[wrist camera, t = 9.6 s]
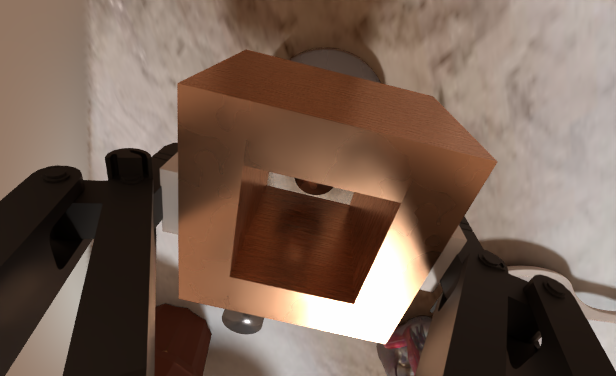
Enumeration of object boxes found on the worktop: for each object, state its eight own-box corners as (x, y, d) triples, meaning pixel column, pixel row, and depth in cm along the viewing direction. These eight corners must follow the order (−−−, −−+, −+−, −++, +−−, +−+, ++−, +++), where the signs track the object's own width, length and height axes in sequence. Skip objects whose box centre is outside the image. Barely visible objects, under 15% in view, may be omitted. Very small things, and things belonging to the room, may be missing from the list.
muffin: (235, 321, 38) (204, 415, 29) (205, 362, 43) (172, 451, 34) (141, 282, 35) (77, 371, 27) (122, 330, 41) (65, 417, 32)
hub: (351, 181, 26) (357, 269, 18) (251, 140, 25) (204, 212, 16) (409, 80, 21) (455, 132, 13) (290, 24, 20) (253, 40, 12)
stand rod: (276, 256, 31) (255, 338, 24) (248, 245, 31) (217, 326, 23) (286, 235, 30) (267, 316, 22) (257, 224, 29) (227, 303, 22)
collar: (371, 238, 19) (385, 344, 13) (229, 205, 19) (178, 298, 13) (433, 96, 15) (497, 161, 9) (246, 49, 14) (177, 83, 8)
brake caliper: (344, 342, 34) (432, 441, 23) (410, 274, 37) (515, 334, 26) (382, 393, 38) (471, 494, 28) (438, 329, 41) (537, 399, 31)
